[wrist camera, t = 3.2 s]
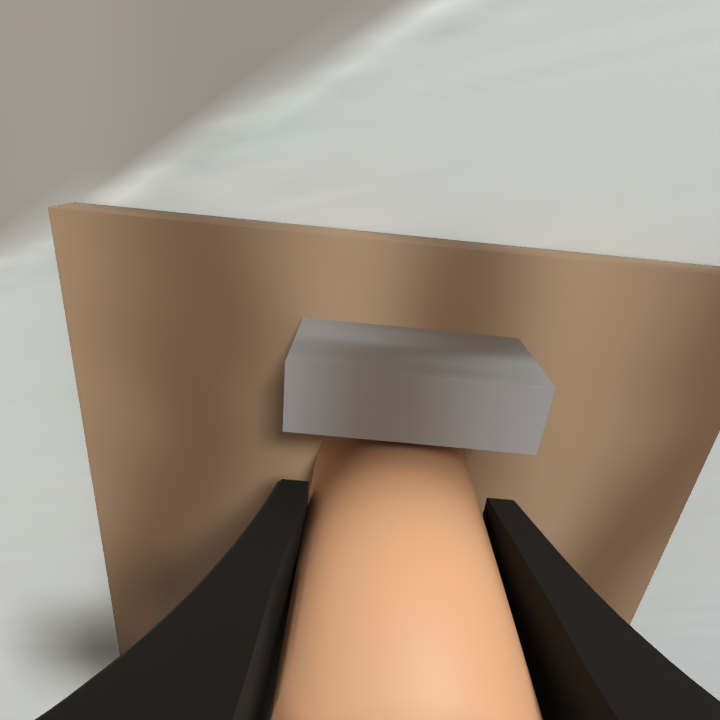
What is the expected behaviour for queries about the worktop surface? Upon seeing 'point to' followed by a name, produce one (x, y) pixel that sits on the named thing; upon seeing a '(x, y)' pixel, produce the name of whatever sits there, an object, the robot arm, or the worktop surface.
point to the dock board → (377, 383)
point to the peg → (398, 595)
